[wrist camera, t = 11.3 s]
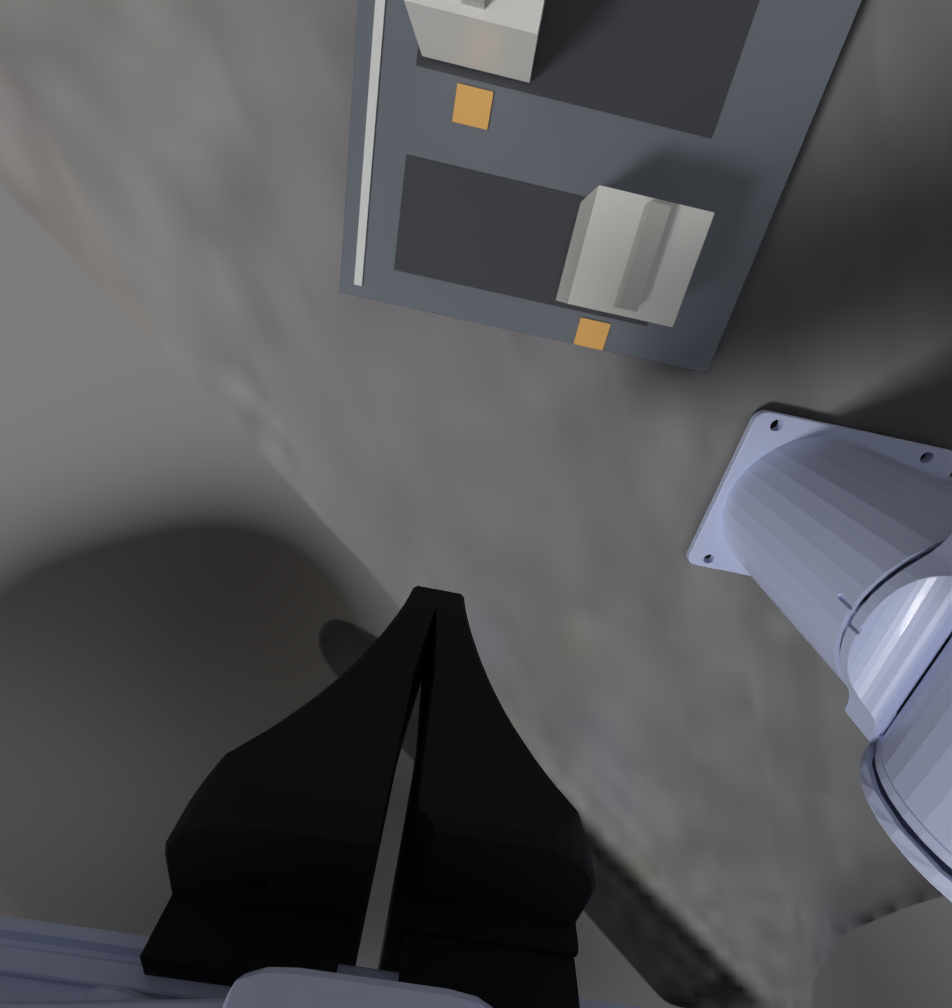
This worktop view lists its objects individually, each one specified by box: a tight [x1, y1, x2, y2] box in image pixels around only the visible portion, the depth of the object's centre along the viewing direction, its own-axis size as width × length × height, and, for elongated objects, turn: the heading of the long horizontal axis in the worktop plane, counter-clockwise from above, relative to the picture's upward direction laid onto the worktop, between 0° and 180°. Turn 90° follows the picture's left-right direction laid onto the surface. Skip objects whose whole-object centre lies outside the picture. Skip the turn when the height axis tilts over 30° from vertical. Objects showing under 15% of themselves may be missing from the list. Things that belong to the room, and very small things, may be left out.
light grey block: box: [556, 185, 714, 327], centre depth 15 cm, size 4×3×4 cm
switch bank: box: [340, 0, 862, 373], centre depth 15 cm, size 15×18×1 cm
